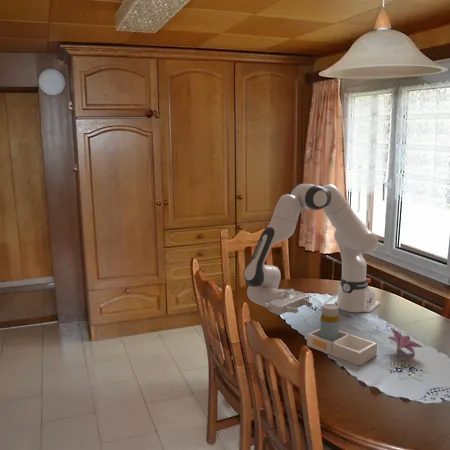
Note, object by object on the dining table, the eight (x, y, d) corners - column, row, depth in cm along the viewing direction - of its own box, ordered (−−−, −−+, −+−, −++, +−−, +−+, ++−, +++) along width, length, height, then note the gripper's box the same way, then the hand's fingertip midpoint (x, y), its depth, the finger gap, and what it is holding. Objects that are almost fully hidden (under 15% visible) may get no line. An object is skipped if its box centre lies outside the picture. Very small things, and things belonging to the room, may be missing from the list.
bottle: (338, 347, 181) (340, 310, 178) (319, 346, 182) (321, 308, 180) (338, 340, 188) (339, 303, 185) (320, 338, 189) (321, 302, 186)
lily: (424, 364, 171) (428, 338, 174) (397, 356, 168) (402, 329, 171) (401, 360, 182) (406, 336, 185) (376, 352, 179) (381, 327, 182)
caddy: (325, 336, 193) (325, 325, 192) (376, 355, 176) (377, 343, 176) (306, 345, 185) (306, 334, 184) (358, 366, 168) (358, 353, 167)
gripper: (261, 298, 195) (287, 307, 185) (293, 287, 209) (319, 294, 199) (261, 313, 196) (287, 322, 186) (293, 301, 210) (319, 308, 200)
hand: (304, 307), depth 193 cm, fingers open, 8 cm apart
